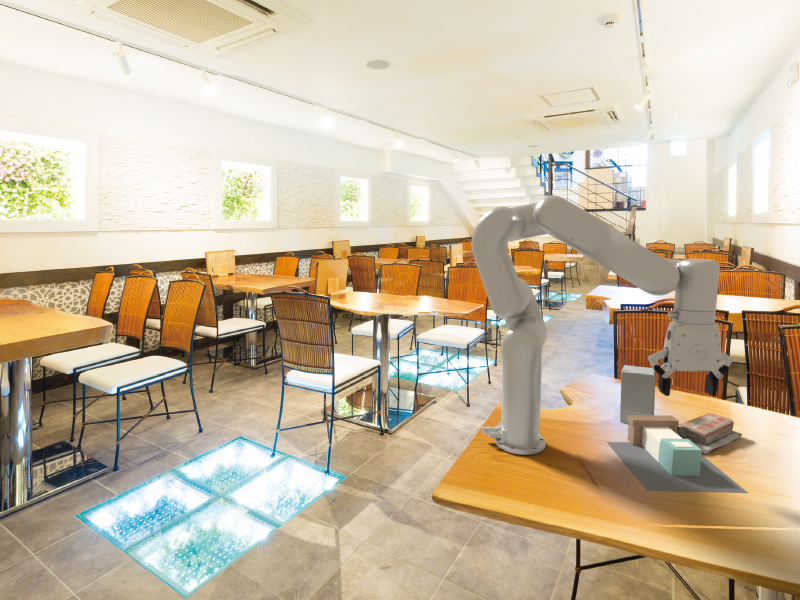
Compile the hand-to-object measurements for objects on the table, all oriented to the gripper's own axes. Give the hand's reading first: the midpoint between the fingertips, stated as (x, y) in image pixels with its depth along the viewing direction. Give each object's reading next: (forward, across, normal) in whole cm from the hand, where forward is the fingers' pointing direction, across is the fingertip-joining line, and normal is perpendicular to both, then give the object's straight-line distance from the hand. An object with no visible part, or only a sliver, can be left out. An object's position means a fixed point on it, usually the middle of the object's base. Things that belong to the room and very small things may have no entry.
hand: (687, 394), depth 100 cm
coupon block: (+18, 0, +9) cm, 20 cm away
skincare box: (+18, +2, +26) cm, 32 cm away
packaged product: (+18, +14, +16) cm, 28 cm away
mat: (+18, -1, +2) cm, 18 cm away
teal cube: (+18, 0, 0) cm, 18 cm away
